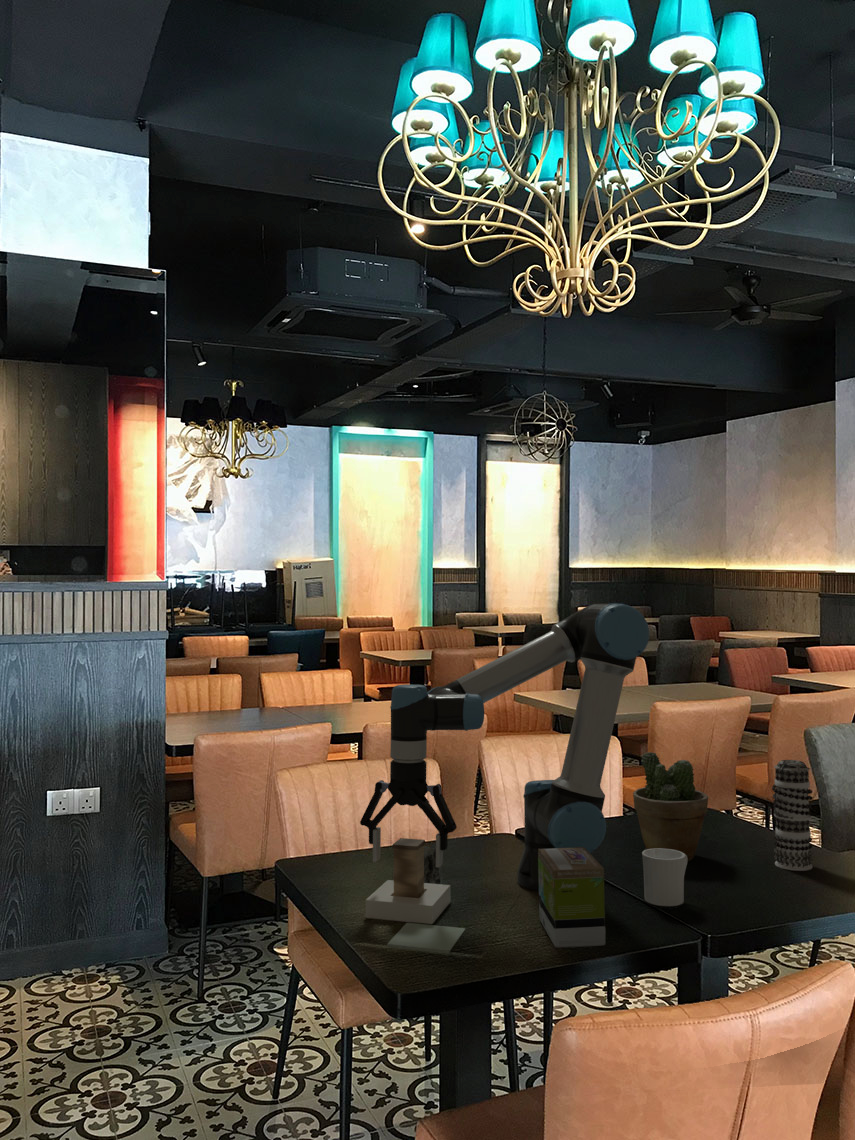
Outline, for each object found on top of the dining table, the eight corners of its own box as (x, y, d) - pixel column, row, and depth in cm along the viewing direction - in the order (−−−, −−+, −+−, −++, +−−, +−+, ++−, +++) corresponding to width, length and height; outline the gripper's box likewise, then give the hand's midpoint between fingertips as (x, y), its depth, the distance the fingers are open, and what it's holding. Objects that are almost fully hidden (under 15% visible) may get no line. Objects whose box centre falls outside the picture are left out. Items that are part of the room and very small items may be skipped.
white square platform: (450, 904, 199) (450, 885, 199) (432, 926, 185) (432, 905, 185) (387, 898, 203) (387, 879, 203) (365, 919, 189) (365, 899, 189)
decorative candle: (772, 869, 223) (770, 763, 224) (773, 859, 232) (772, 757, 233) (813, 873, 220) (812, 765, 221) (813, 862, 229) (811, 759, 229)
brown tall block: (425, 906, 196) (425, 839, 196) (417, 914, 191) (417, 846, 191) (400, 904, 197) (400, 838, 198) (392, 912, 192) (392, 844, 193)
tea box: (537, 921, 188) (536, 846, 189) (586, 919, 189) (585, 845, 190) (553, 948, 173) (553, 868, 174) (607, 946, 174) (606, 866, 175)
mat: (465, 931, 182) (465, 928, 182) (449, 953, 171) (449, 950, 171) (406, 925, 186) (406, 922, 186) (387, 947, 174) (387, 944, 174)
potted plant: (718, 852, 238) (716, 753, 239) (696, 870, 222) (695, 764, 223) (648, 843, 248) (647, 748, 249) (622, 859, 232) (621, 758, 233)
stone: (448, 842, 210) (408, 836, 215) (434, 880, 203) (393, 874, 207) (458, 867, 216) (419, 862, 220) (445, 905, 209) (404, 899, 213)
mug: (662, 912, 193) (661, 861, 193) (633, 900, 201) (633, 851, 201) (702, 904, 198) (701, 854, 198) (672, 892, 206) (672, 845, 206)
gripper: (471, 760, 195) (470, 863, 194) (358, 753, 202) (357, 853, 201) (462, 766, 188) (461, 873, 187) (345, 759, 195) (344, 862, 194)
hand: (407, 863), depth 194 cm, fingers open, 13 cm apart
